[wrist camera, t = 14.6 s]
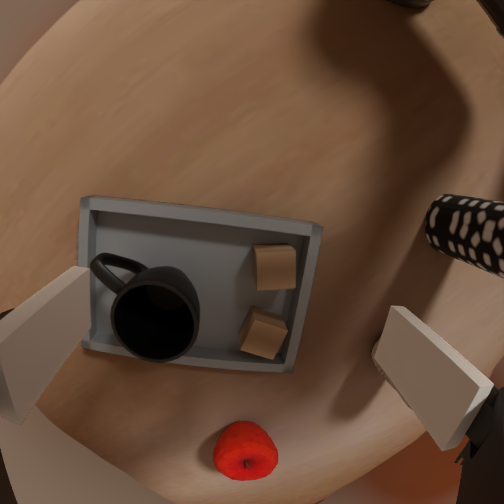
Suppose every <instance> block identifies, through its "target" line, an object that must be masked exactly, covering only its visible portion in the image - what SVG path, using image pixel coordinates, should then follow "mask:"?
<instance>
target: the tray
mask: <svg viewBox="0 0 504 504" xmlns="http://www.w3.org/2000/svg"><path fill="white" fill-rule="evenodd" d="M322 231H323V226H321V225H319V224H317V223H315V222H310V221H303V220H296V219H290V218H283V217H276V216H269V215H261V214H254V213H247V212H239V211H231V210H224V209H216V208H208V207H199V206H191V205H182V204H174V203H165V202H156V201H146V200H136V199H126V198H116V197H106V196H95V195H92V196H86V197H81V200H80V215H79V236H78V267H84V268H90V262H91V261H92V260H93V259H94V258H95V257H96V256H97V255H98V254H100V253H111V254H115V255H118V256H122V257H126V258H129V259H132V260H135V261H138V262H140V263H142V264H144V265H145V266H147V267H148V268H153V267H158V266H171V267H175V268H177V269H179V270H181V271H182V272H183V273H185V274H186V276H187V277H188V278H189V280H190V281H191V282H192V284H193V286H194V288H195V290H196V292H197V295H198V299H199V303H200V324H199V331H198V336H197V339H196V341H195V343H194V345H193V347H192V348H191V349H190V350H189V351H188V352H187V353H186V354H185V355H183V356H182V357H180V358H178V359H176V360H173V361H170V362H167V363H175V364H183V365H191V366H200V367H210V368H220V369H232V370H245V371H261V372H282V373H292V372H293V368H294V364H295V360H296V356H297V352H298V347H299V343H300V339H301V334H302V330H303V325H304V321H305V316H306V312H307V307H308V303H309V298H310V293H311V288H312V283H313V278H314V273H315V268H316V263H317V258H318V253H319V247H320V242H321V236H322ZM275 243H288V244H289V245H290V246H292V247H293V248H294V249H295V250H296V288H291V289H277V290H261V291H257V288H256V285H255V282H254V279H253V248H252V245H254V244H275ZM105 266H106V267H107V268H108V269H109V270H110V271H111V272H112V273H113V274H114V275H115V276H117V277H118V278H119V279H120V280H122V281H123V282H124V283H125V284H126V283H127V282H128V281H129V280H130V279H132V278H133V277H134V276H135V275H136V274H134V273H133V272H131V271H128V270H125V269H122V268H118V267H114V266H109V265H105ZM116 296H117V295H116V294H115V293H114V292H112V291H111V290H110V289H109V288H107V287H106V286H105V285H104V284H103V283H102V282H101V281H99V280H98V279H97V277H96V276H95V275H94V274H93V273H92V271H91V269H90V313H91V328H90V330H89V331H88V332H87V334H86V335H85V336H84V337H83V339H82V340H81V342H82V348H86V349H91V350H96V351H101V352H106V353H111V354H116V355H122V356H128V357H134V358H138V357H136V356H134V355H132V354H131V353H130V352H128V351H127V350H126V349H125V348H124V347H123V346H122V345H121V344H120V343H119V341H118V340H117V338H116V337H115V335H114V332H113V329H112V327H111V320H110V313H111V306H112V304H113V301H114V299H115V297H116ZM251 305H252V306H255V307H257V308H260V309H263V310H266V311H269V312H272V313H274V314H277V315H280V316H282V318H283V320H284V322H285V325H286V327H287V329H288V332H287V334H286V336H285V338H284V340H283V342H282V344H281V346H280V348H279V350H278V351H277V353H276V355H275V357H274V359H273V360H272V359H268V358H265V357H262V356H258V355H255V354H252V353H249V352H246V351H242V350H240V344H239V336H238V333H239V330H240V328H241V326H242V324H243V322H244V320H245V318H246V315H247V313H248V311H249V309H250V307H251Z"/></svg>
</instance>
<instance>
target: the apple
mask: <svg viewBox="0 0 504 504" xmlns="http://www.w3.org/2000/svg"><path fill="white" fill-rule="evenodd" d="M213 462H214V465H215V466H216V468H217V470H218V471H219V472H221V473H222V474H224V475H225V476H227V477H229V478H230V479H232V480H240V481H245V480H256V479H260V478H263V477H266V476H267V475H269V474H271V472H272V471H273V470H274V468H275V467H276V465H277V464H278V451H277V448H276V447H275V445H274V443H273V441H272V439H271V438H270V437H269V435H268V434H267V432H266V431H265V430H263V429H262V428H261V427H260V426H259V425H257V424H255V423H253V422H248V421H238V422H236V423H233V424H231V425H230V426H229V427H228V428H227V429H226V430H225V431H224V432H223V434H222V435H221V437H220V438H219V440H218V442H217V444H216V446H215V448H214V451H213Z"/></svg>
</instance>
